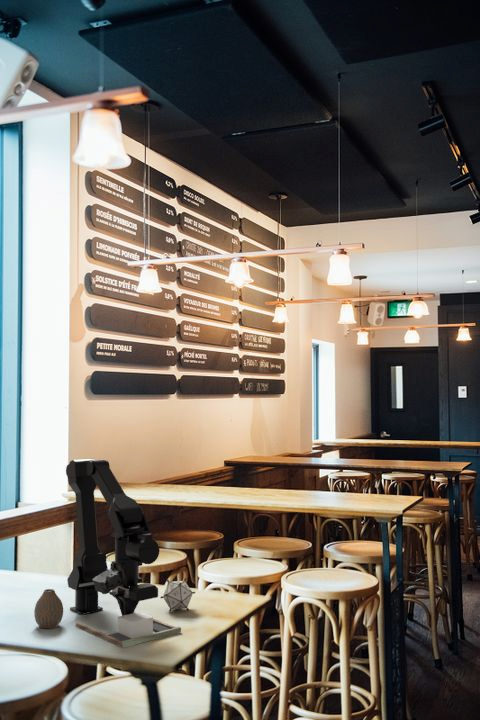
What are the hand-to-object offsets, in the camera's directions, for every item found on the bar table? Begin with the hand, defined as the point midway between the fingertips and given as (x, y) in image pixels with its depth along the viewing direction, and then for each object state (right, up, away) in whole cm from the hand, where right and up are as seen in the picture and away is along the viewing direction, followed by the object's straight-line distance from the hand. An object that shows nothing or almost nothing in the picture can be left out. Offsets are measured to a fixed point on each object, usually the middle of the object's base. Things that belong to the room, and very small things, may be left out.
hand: (126, 622), depth 185 cm
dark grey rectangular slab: (+4, -1, -4) cm, 5 cm away
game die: (+11, -3, +16) cm, 20 cm away
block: (+3, -2, -4) cm, 5 cm away
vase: (-20, -2, +2) cm, 20 cm away
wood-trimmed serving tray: (0, -2, 0) cm, 2 cm away
